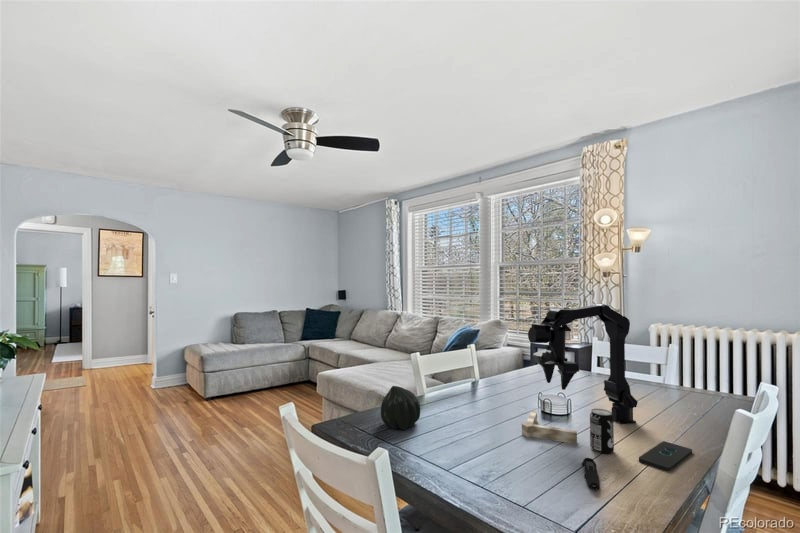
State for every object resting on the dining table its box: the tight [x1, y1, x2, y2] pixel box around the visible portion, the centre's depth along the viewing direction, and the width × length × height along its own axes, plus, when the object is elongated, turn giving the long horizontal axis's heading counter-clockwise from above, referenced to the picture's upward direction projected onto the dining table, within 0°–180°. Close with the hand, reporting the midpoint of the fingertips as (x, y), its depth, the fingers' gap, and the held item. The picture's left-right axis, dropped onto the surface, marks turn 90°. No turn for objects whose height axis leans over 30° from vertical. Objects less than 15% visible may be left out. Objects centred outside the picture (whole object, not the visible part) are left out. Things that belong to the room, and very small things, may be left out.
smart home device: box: [638, 440, 693, 473], centre depth 118 cm, size 8×2×20 cm
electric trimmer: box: [581, 457, 600, 491], centre depth 106 cm, size 4×16×3 cm, turn 159°
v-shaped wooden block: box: [521, 410, 578, 445], centre depth 137 cm, size 13×23×4 cm, turn 19°
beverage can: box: [589, 408, 615, 455], centre depth 123 cm, size 7×7×12 cm
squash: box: [380, 385, 421, 430], centre depth 144 cm, size 14×15×15 cm
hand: (555, 386), depth 144 cm, fingers open, 9 cm apart
